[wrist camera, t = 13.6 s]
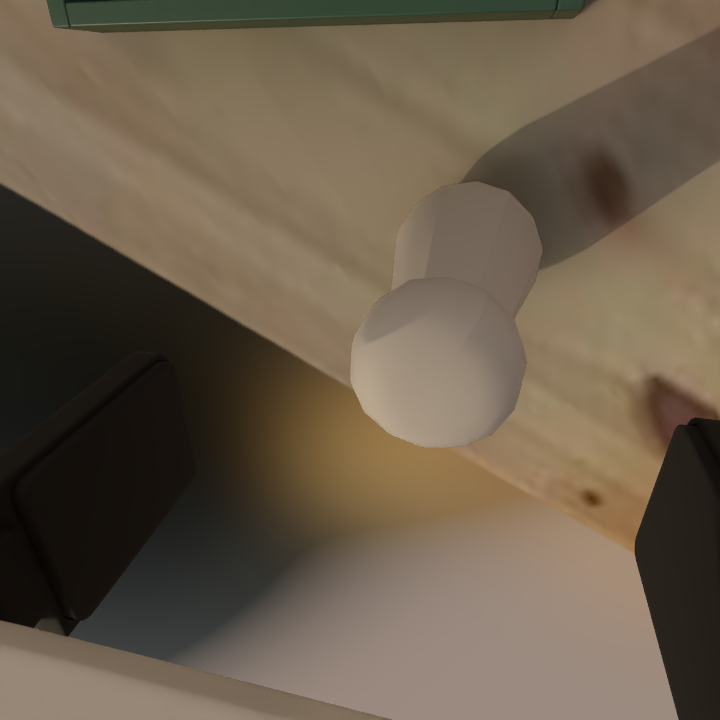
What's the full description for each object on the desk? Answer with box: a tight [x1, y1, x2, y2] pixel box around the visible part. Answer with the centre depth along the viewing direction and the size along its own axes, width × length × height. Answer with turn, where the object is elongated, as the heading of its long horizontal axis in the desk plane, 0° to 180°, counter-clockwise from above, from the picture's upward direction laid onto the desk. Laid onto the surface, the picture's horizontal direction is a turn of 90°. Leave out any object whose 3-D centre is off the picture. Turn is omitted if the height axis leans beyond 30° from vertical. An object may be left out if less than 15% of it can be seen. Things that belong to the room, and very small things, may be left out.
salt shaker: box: [351, 181, 543, 447], centre depth 17 cm, size 6×6×13 cm
